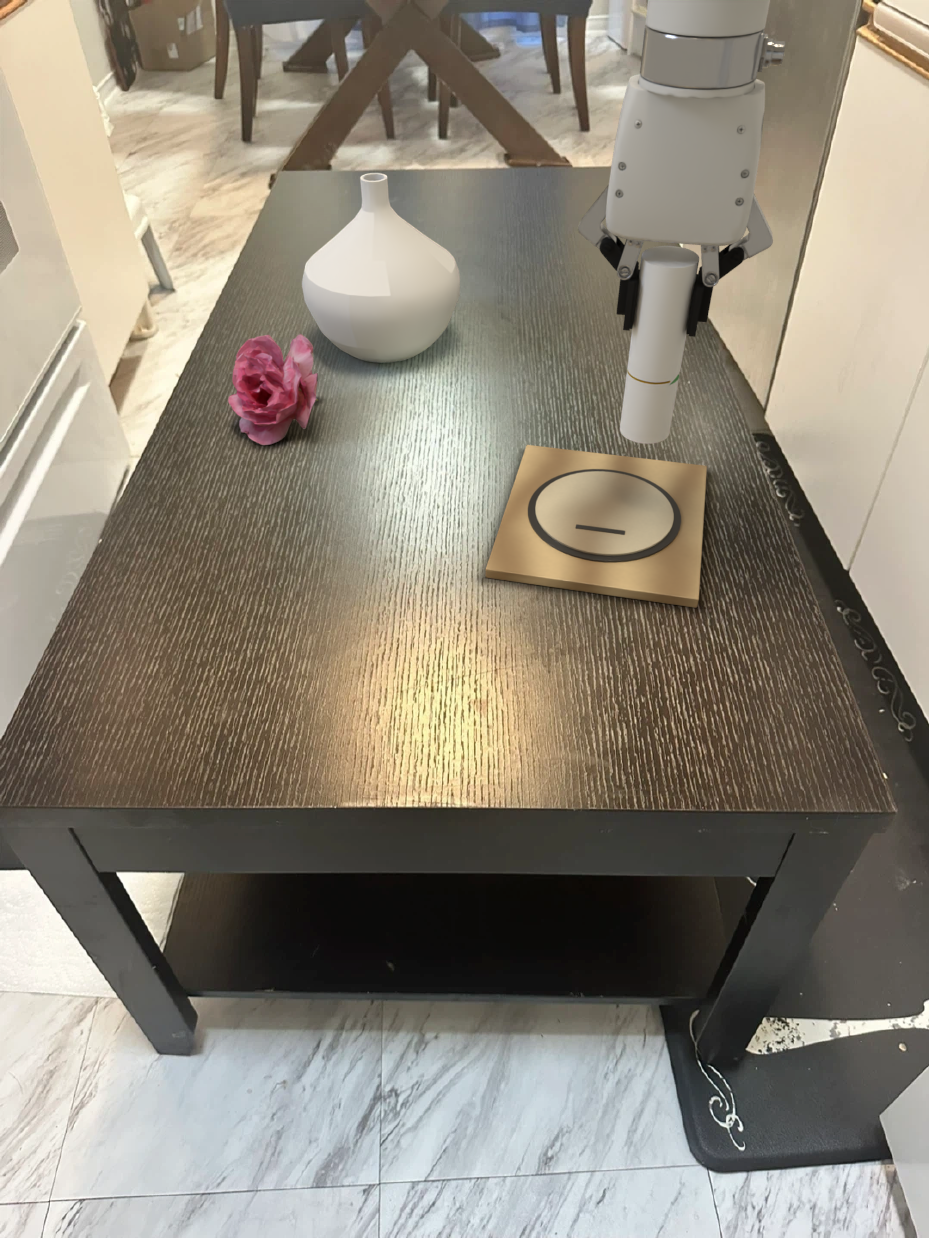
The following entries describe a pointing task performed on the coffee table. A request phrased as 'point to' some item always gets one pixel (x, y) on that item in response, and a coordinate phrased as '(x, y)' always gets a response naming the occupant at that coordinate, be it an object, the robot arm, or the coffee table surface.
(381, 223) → the vase
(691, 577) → the drawing board
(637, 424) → the tube
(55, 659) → the coffee table surface
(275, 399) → the flower
